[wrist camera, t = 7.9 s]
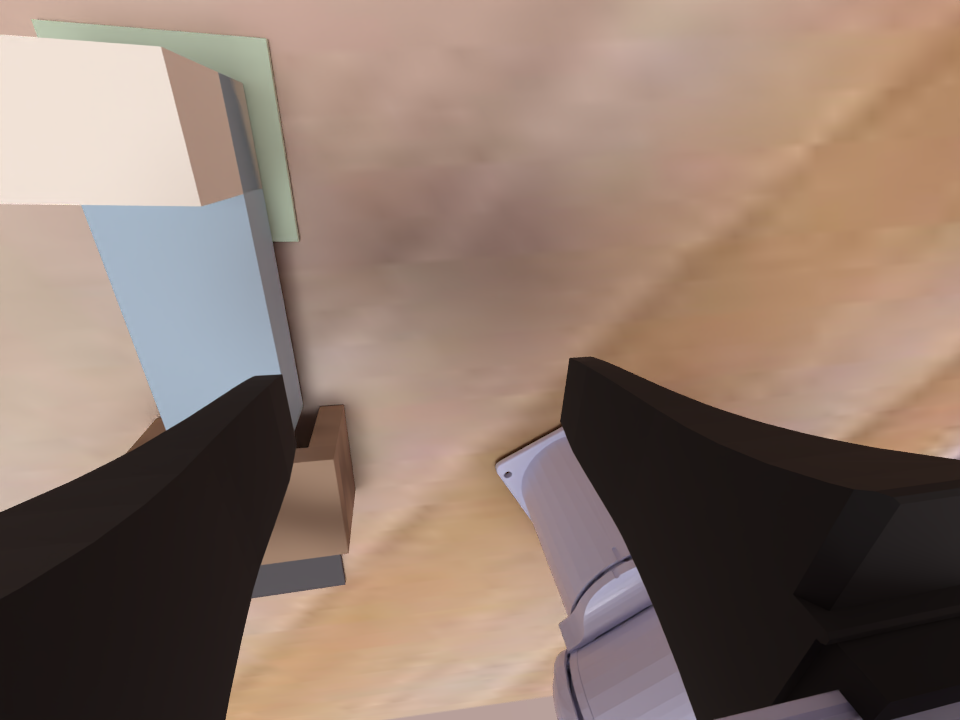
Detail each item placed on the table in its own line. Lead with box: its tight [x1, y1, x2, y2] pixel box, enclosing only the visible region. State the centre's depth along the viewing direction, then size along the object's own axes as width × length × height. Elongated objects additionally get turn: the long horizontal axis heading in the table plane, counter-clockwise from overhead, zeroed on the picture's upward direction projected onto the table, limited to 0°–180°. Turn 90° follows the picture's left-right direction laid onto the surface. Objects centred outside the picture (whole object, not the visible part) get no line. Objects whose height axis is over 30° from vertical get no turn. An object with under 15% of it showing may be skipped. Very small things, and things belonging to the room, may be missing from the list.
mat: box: [31, 19, 300, 242], centre depth 16 cm, size 7×7×1 cm
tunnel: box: [127, 405, 355, 565], centre depth 20 cm, size 6×9×4 cm
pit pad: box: [251, 554, 346, 598], centre depth 26 cm, size 6×6×1 cm
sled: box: [0, 35, 303, 431], centre depth 15 cm, size 14×5×6 cm, turn 178°
